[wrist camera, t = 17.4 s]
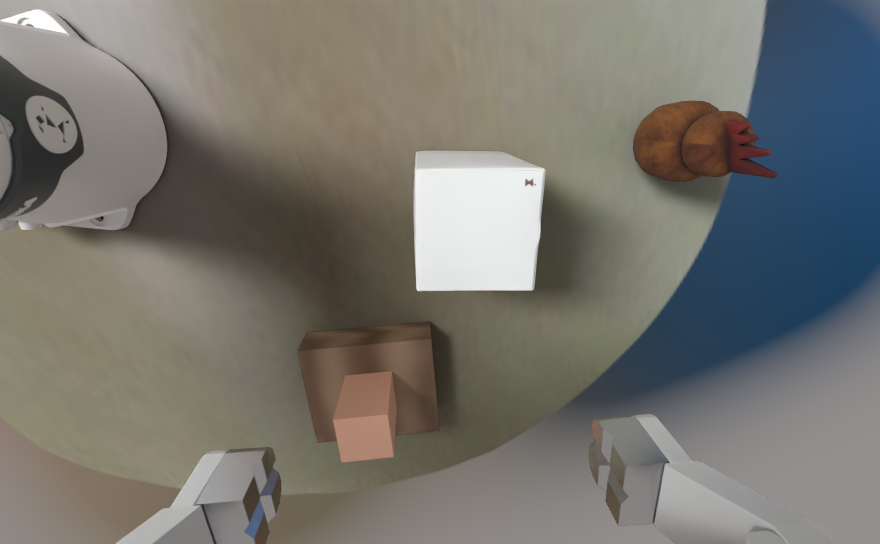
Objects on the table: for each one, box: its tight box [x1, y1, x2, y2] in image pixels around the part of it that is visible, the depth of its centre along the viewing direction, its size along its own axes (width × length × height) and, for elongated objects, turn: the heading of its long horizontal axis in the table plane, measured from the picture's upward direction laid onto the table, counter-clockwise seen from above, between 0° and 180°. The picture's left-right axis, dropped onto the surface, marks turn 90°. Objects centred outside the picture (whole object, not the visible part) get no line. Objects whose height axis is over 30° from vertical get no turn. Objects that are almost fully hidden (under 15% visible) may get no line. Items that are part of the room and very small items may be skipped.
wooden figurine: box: [633, 101, 778, 182], centre depth 34 cm, size 7×6×15 cm
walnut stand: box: [297, 322, 440, 443], centre depth 47 cm, size 14×12×4 cm
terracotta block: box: [333, 371, 397, 462], centre depth 42 cm, size 5×5×7 cm
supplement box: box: [414, 151, 545, 291], centre depth 35 cm, size 9×9×15 cm
